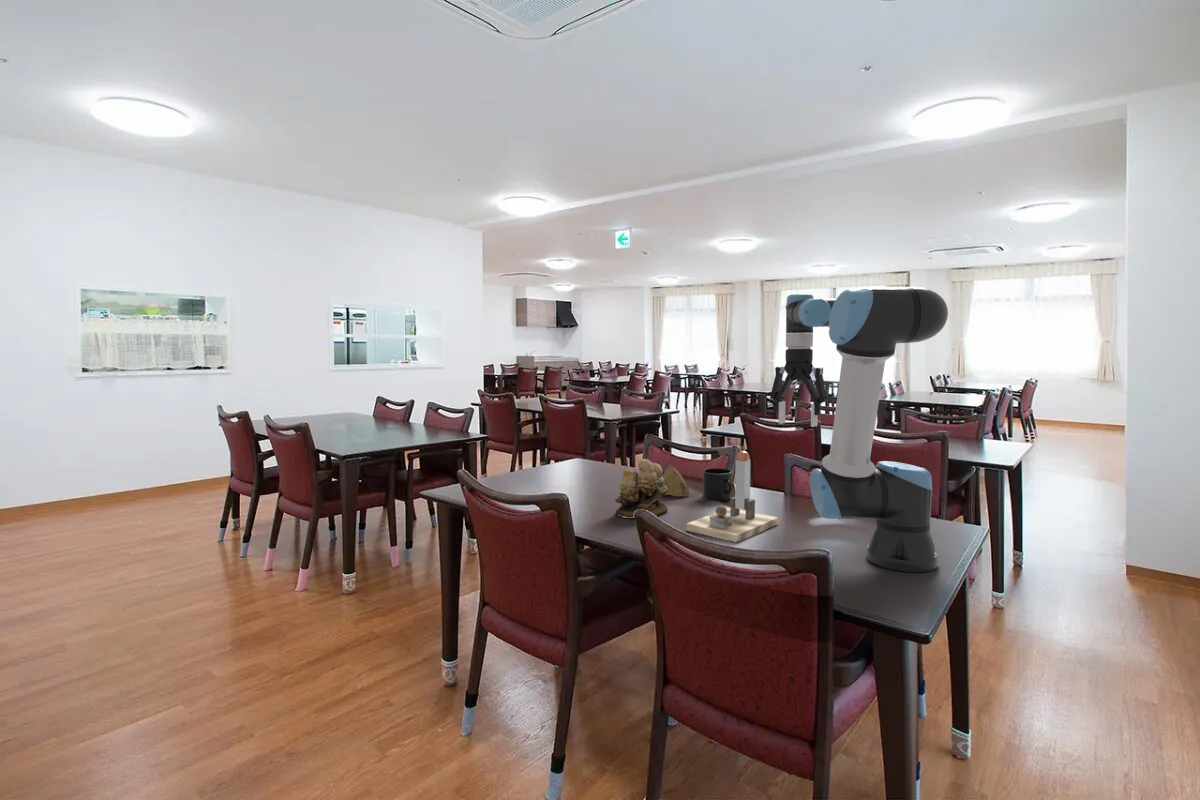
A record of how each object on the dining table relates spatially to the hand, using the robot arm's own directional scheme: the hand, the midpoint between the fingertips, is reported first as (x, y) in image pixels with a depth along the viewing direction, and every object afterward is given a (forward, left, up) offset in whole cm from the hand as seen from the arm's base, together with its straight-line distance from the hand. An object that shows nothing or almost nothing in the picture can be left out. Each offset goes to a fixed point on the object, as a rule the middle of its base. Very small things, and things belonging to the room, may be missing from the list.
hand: (797, 424), depth 182 cm
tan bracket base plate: (-4, +23, -28) cm, 36 cm away
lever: (-1, +19, -23) cm, 30 cm away
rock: (+35, +25, -28) cm, 51 cm away
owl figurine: (+18, +42, -28) cm, 53 cm away
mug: (+26, +12, -28) cm, 40 cm away
